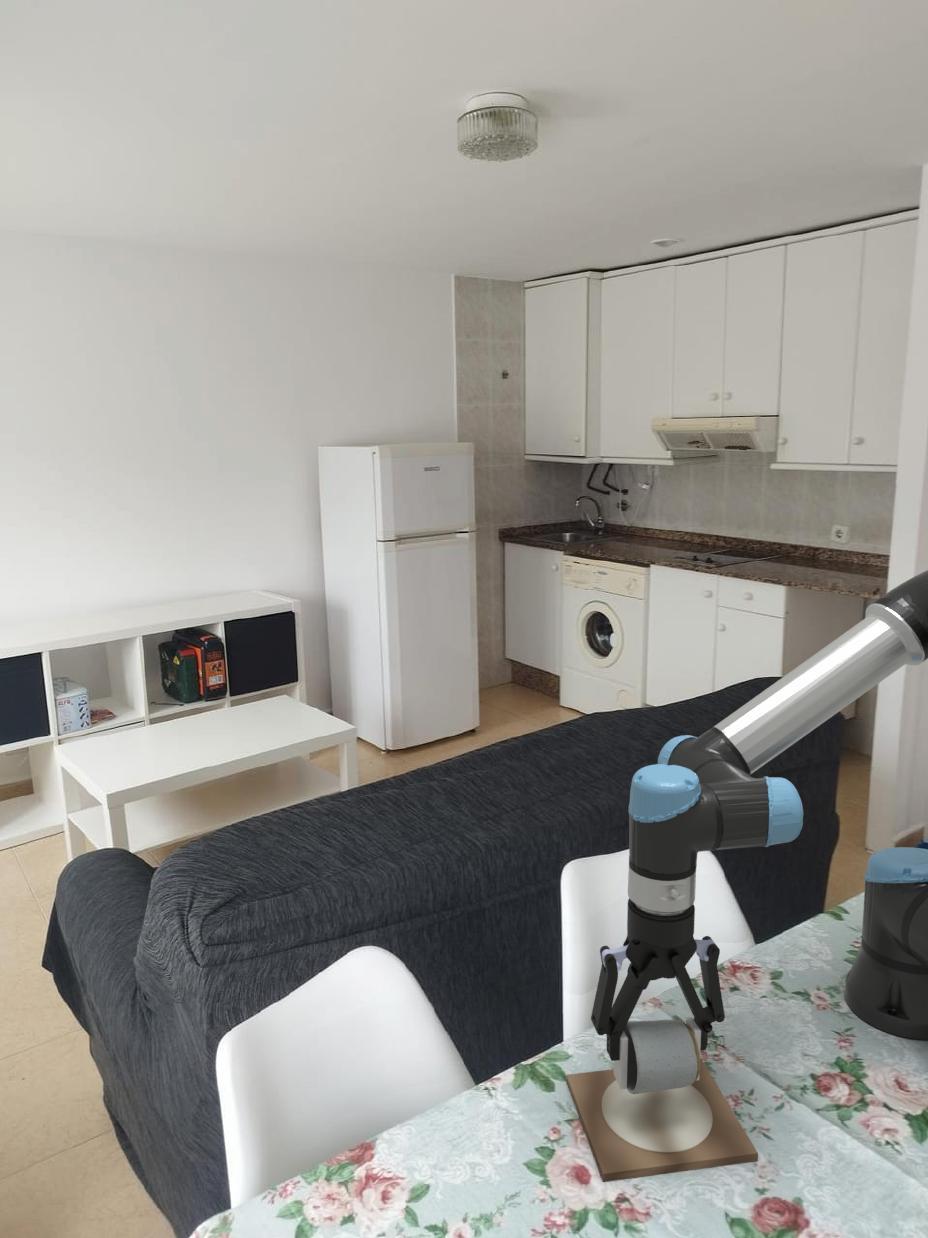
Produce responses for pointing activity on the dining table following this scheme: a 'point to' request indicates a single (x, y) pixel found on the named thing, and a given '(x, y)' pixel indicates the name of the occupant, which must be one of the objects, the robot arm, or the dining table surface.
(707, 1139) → the board
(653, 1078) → the ceramic mug
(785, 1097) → the dining table surface
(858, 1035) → the dining table surface
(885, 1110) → the dining table surface
